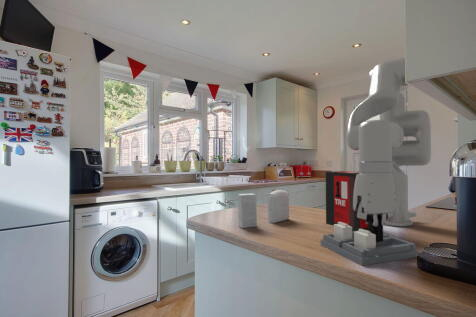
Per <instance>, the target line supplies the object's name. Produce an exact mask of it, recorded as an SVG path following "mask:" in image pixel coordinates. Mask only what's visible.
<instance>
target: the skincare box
mask: <svg viewBox="0 0 476 317" xmlns="http://www.w3.org/2000/svg"><path fill="white" fill-rule="evenodd" d="M237 208H238V209H237V210H238V211H237V212H238V214H237V215H238V216H237V217H238V218H237V220H238V227H240V228H242V229H244V228H245V229H246V228H253V227H257V226H258V219H257V216H258V215H257V214H258V213H257V208H258V207H257V194H255V193H253V192H251V193H238V194H237Z"/></svg>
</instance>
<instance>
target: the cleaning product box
mask: <svg viewBox="0 0 476 317" xmlns="http://www.w3.org/2000/svg"><path fill="white" fill-rule="evenodd" d="M357 174H359V171H347V170H346V171H345V170H340V171H325V223H326V224H327V225H330V226H332V225H333V226H332V227H334V224H338V222H342V223H345V224H348V226H351V227H352V231H359V229H364V230H368V224H367V223H366V221H365V220H364V219H361V218H358V217H357V211H354V209H353V194H354V184H355V179H356V175H357ZM371 217H372V216H371Z"/></svg>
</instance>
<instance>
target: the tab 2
mask: <svg viewBox="0 0 476 317" xmlns="http://www.w3.org/2000/svg"><path fill="white" fill-rule="evenodd" d="M354 247H356V248H359V249H361V250H363V251H364V250H365V249H372V248H376V235H375V234H372V233H371V232H370V231H367V230H364V229H359V231H355V232H354Z"/></svg>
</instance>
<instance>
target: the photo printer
mask: <svg viewBox="0 0 476 317" xmlns="http://www.w3.org/2000/svg"><path fill="white" fill-rule="evenodd" d="M267 213H268V214H267V217H268V218H267V220H268V222H269V223H271V224H276V223H280V222H284V221H287V220H289V219H290V195H289V193H288V191H287V190H283V189H277V190H273V191H272V192H270V193H268V196H267Z"/></svg>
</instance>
